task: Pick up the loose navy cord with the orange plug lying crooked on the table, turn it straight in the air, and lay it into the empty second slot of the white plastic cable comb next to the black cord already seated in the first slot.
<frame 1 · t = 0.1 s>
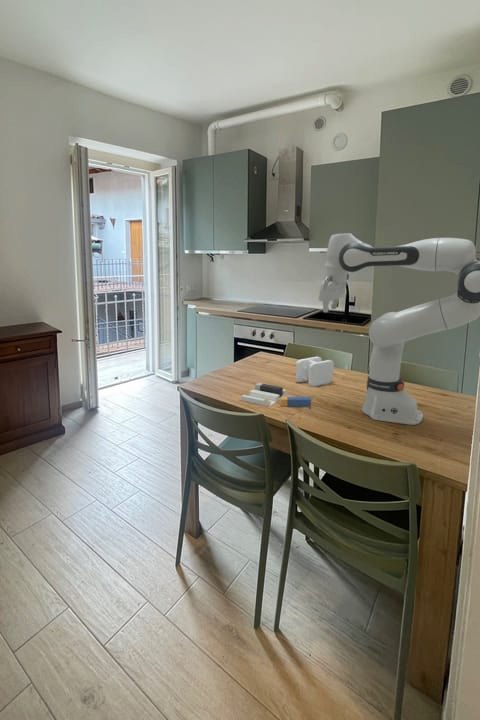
hand: (329, 310, 162), 39 cm above the table, tool pointing down, fingers open, 8 cm apart
cable organizer: (313, 383, 195), on the table
cable comb: (264, 399, 174), on the table
black cord: (268, 394, 177), point 1 cm above the table, touching cable comb
navy cord: (295, 407, 166), on the table
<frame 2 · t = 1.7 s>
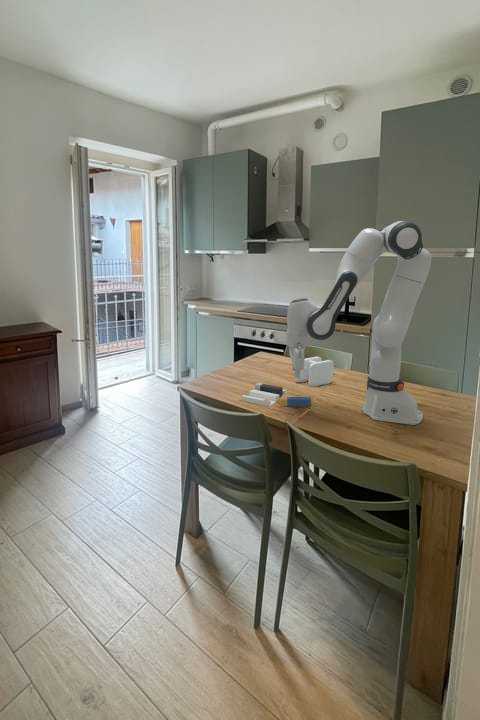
hand: (295, 373, 162), 14 cm above the table, tool pointing down, fingers open, 8 cm apart
nothing on the table moved.
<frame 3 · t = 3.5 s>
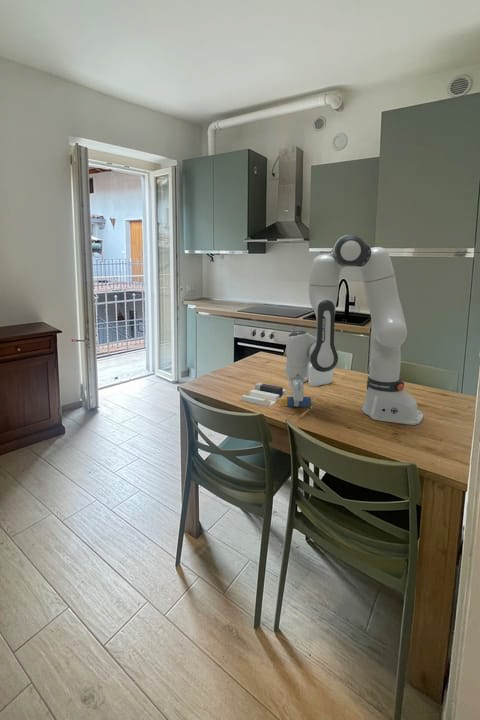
hand: (295, 403, 165), 2 cm above the table, tool pointing down, fingers closed on navy cord, 3 cm apart
navy cord: (295, 407, 166), on the table, touching gripper
everything else where it was.
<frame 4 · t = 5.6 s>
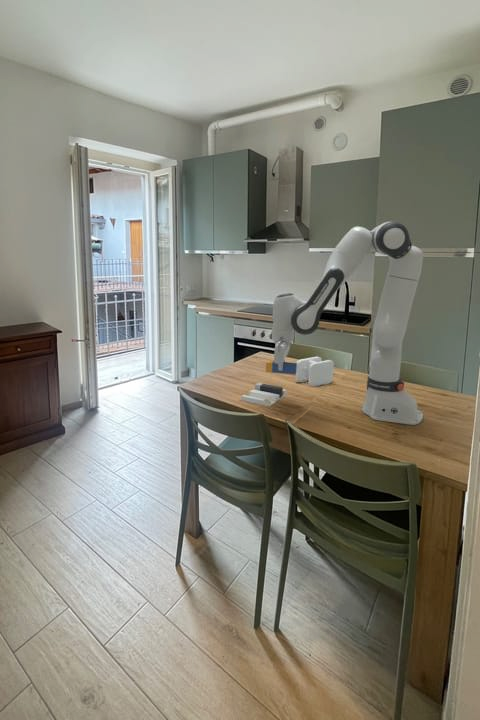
hand: (281, 368, 163), 16 cm above the table, tool pointing down, fingers closed on navy cord, 3 cm apart
navy cord: (281, 372, 163), point 14 cm above the table, touching gripper
everything else where it was.
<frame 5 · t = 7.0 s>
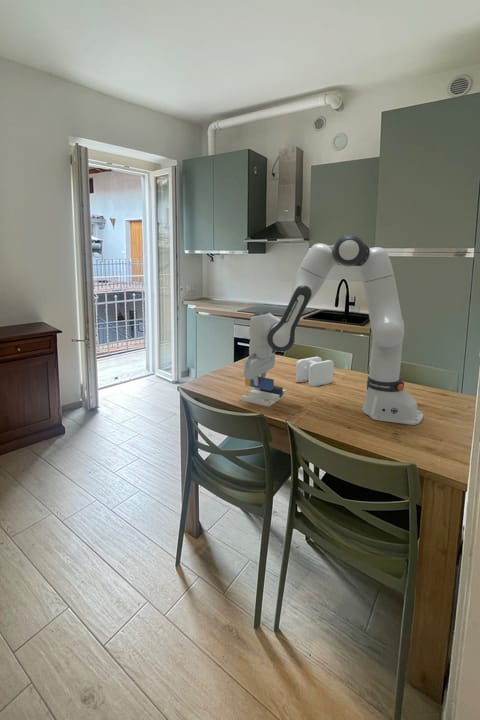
hand: (259, 383, 168), 8 cm above the table, tool pointing down, fingers closed on navy cord, 3 cm apart
navy cord: (259, 387, 169), point 7 cm above the table, touching gripper
everything else where it was.
when the fingers open (5 cm above the table, at t = 7.8 s): navy cord drops 3 cm, resting on cable comb.
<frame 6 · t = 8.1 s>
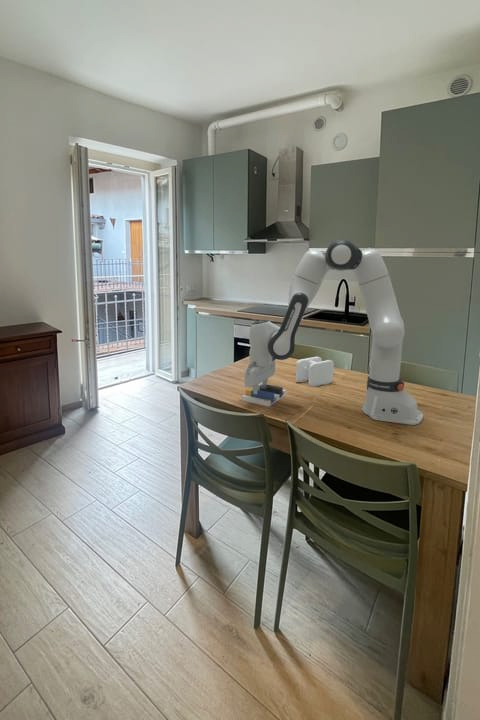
hand: (259, 391, 169), 5 cm above the table, tool pointing down, fingers open, 5 cm apart
navy cord: (259, 400, 170), point 1 cm above the table, touching cable comb
everything else where it was.
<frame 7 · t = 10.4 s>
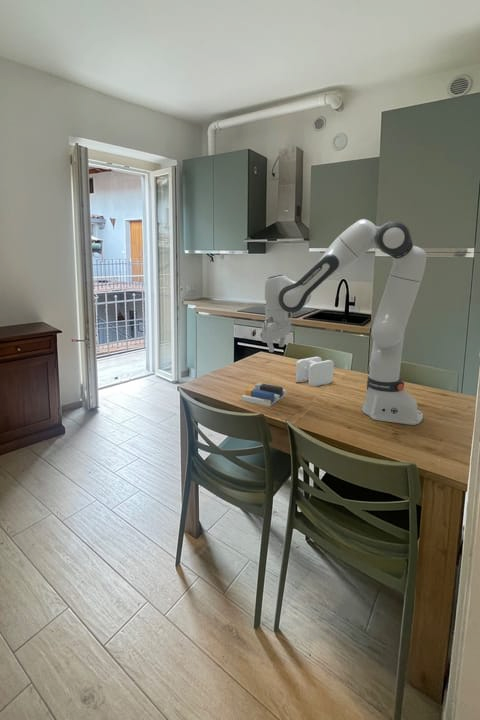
hand: (276, 349, 167), 23 cm above the table, tool pointing down, fingers open, 8 cm apart
nothing on the table moved.
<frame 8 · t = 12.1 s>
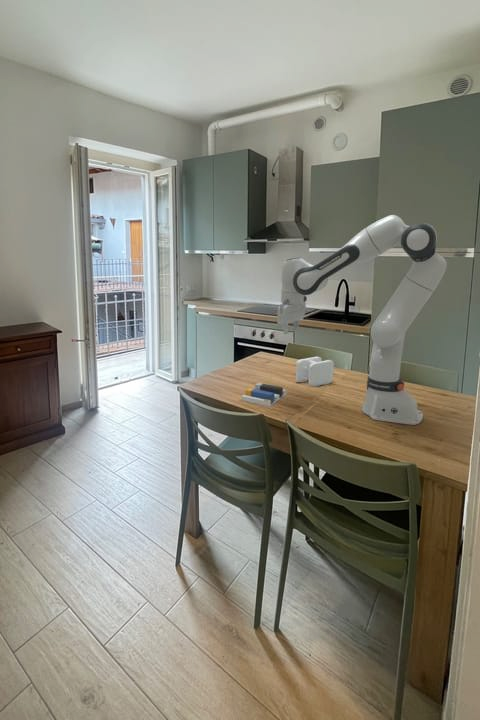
hand: (290, 331, 169), 29 cm above the table, tool pointing down, fingers open, 8 cm apart
nothing on the table moved.
at the end: navy cord 0.0 cm from the target spot on the cable comb, point 1.0 cm above the cable comb's base; navy cord tilted 0°; black cord moved 0.0 cm from its start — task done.
